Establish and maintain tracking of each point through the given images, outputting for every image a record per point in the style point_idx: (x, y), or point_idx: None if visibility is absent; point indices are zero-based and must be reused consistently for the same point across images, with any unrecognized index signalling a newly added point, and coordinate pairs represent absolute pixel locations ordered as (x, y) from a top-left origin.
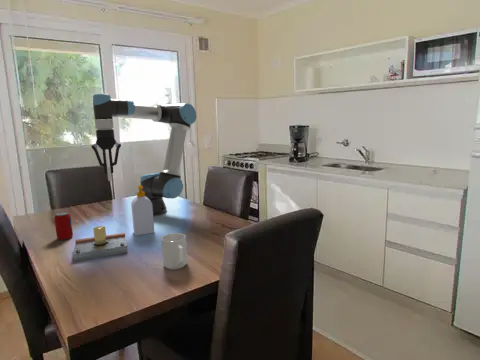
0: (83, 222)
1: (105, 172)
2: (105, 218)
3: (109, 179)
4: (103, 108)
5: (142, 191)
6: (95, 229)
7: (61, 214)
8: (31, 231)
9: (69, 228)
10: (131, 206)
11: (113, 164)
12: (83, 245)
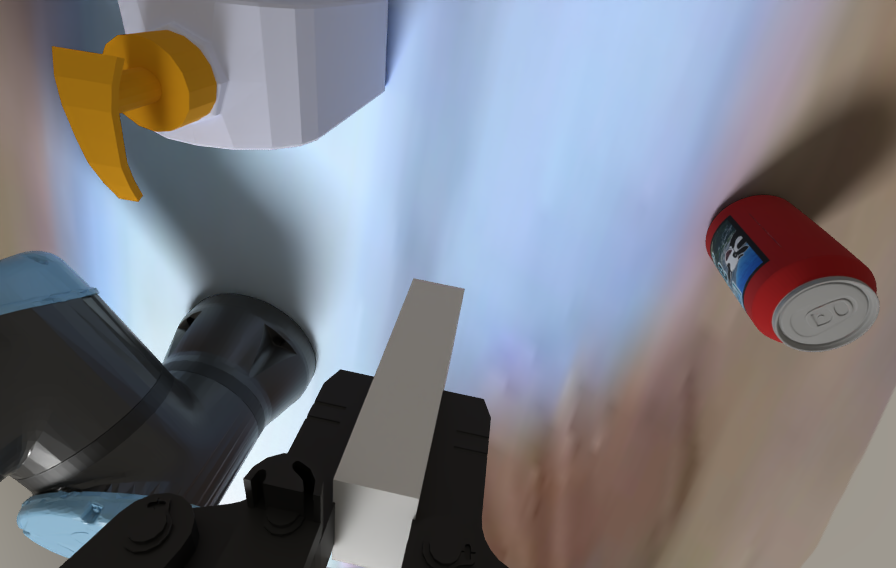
0: (581, 402)
1: (475, 418)
2: (477, 395)
3: (441, 296)
4: None
5: (130, 117)
6: None
7: (838, 300)
8: (826, 422)
9: (755, 225)
10: (325, 128)
11: (226, 531)
12: None
